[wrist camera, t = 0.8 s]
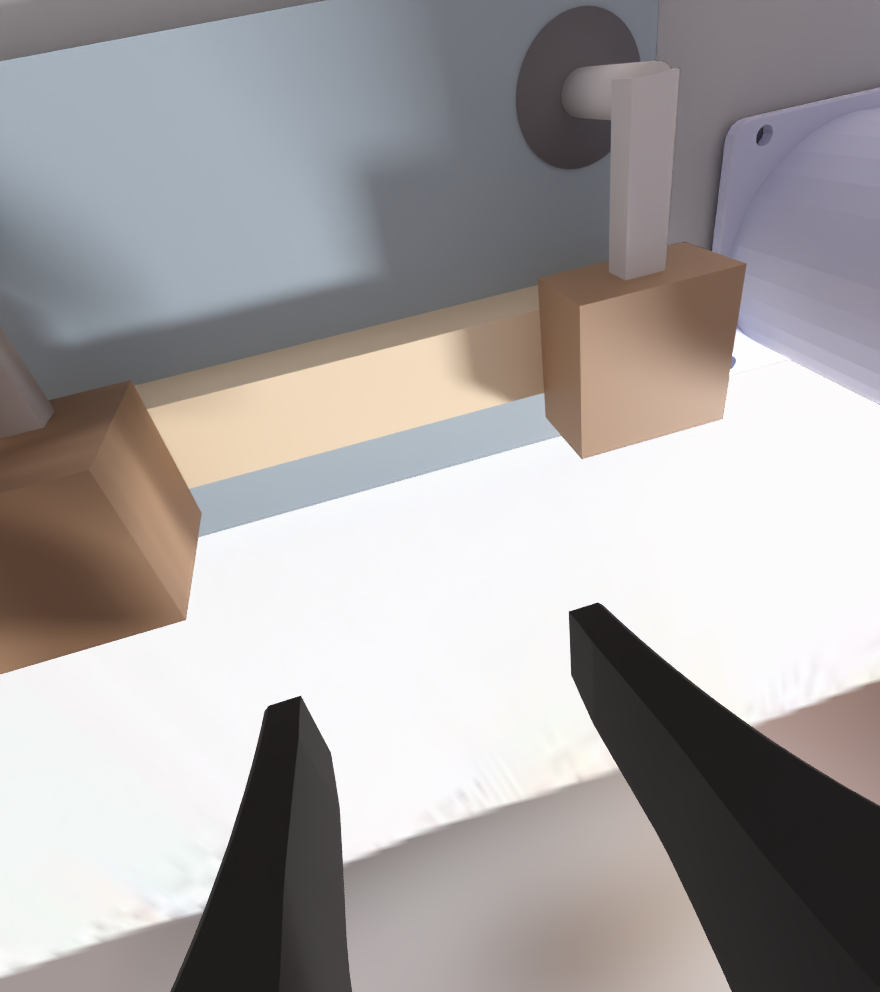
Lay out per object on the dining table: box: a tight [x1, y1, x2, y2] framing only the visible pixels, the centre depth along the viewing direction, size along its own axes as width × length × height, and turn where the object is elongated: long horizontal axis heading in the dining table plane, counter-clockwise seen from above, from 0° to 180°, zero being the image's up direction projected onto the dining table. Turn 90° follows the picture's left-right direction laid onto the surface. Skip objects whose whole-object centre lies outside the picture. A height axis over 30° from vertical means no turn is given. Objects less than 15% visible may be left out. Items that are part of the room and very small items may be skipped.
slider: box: [0, 326, 202, 674], centre depth 12 cm, size 4×8×6 cm, turn 8°
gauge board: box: [0, 0, 747, 537], centre depth 14 cm, size 24×12×5 cm, turn 98°
